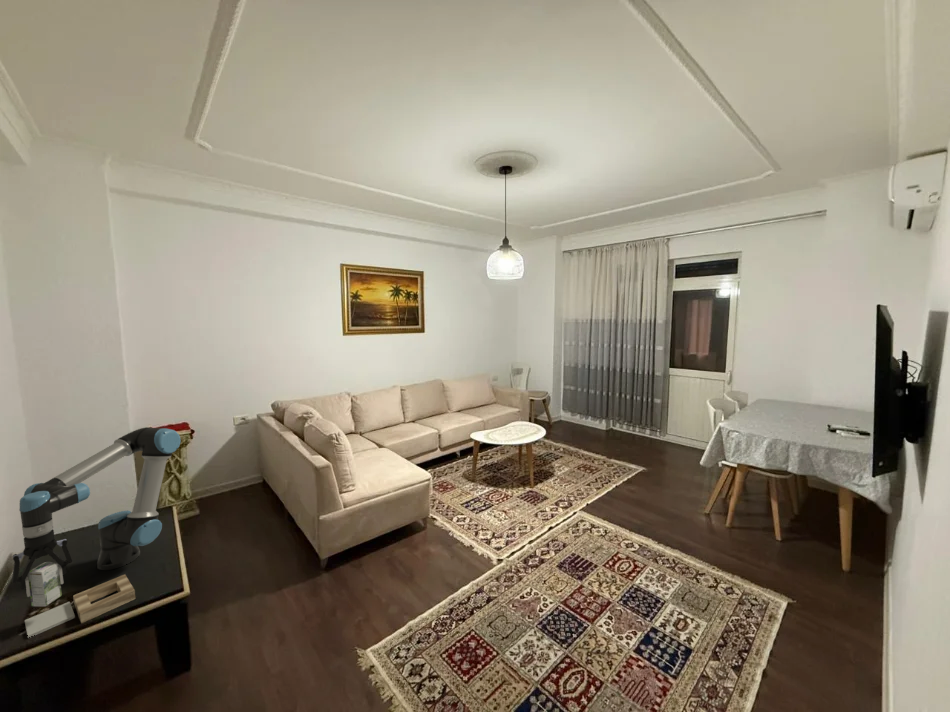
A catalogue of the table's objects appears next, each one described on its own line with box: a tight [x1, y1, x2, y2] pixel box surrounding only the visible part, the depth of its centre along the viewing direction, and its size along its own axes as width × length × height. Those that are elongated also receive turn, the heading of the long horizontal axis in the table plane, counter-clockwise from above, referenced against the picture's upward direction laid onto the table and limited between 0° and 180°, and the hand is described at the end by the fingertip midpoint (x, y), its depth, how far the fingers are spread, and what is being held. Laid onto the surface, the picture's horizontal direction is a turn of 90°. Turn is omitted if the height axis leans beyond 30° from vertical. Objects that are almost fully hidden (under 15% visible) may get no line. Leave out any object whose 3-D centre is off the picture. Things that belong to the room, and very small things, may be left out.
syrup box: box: [27, 561, 63, 607], centre depth 146 cm, size 6×6×14 cm
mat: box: [24, 601, 76, 639], centre depth 148 cm, size 12×12×1 cm
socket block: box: [72, 574, 136, 624], centre depth 157 cm, size 16×16×4 cm
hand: (45, 588), depth 146 cm, fingers closed on syrup box, 8 cm apart
